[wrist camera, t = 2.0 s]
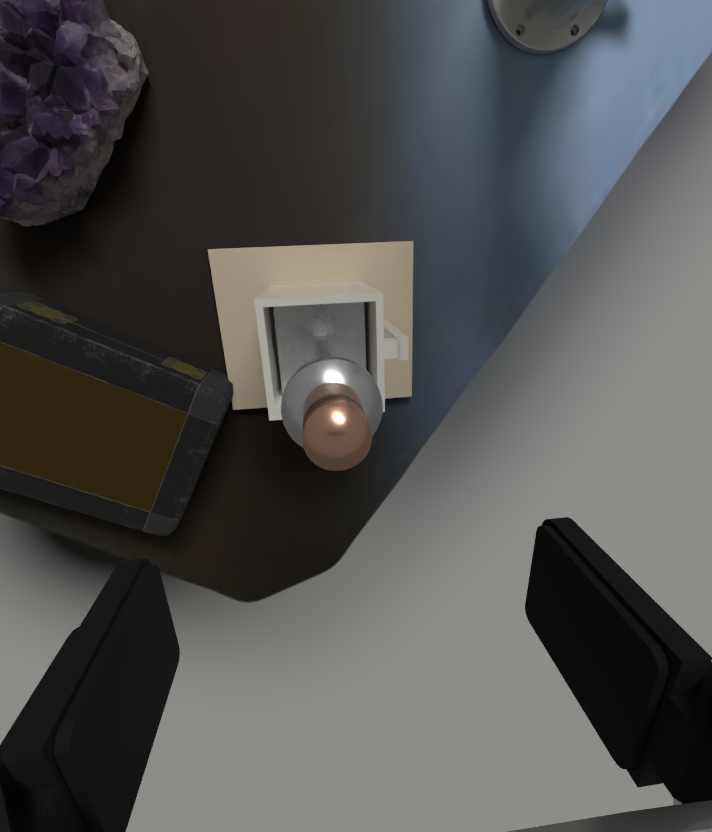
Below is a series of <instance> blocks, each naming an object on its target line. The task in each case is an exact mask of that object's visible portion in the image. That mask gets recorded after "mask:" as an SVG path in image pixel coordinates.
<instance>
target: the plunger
mask: <svg viewBox="0 0 712 832" xmlns="http://www.w3.org/2000/svg"><path fill="white" fill-rule="evenodd" d="M273 312H274V321H275V330H276V339H277V348H278V358H279V367H280V376H281V385H282V394H283V396H282V402H281V416H282V421H283V424H284V426H285V428H286V430H287V432H288V434H289V435H290V437H291V438H292V439H293V440H294V441H295V442H296V443H297V444H298V445H300V446H301V447H303V448H304V450H305V453H306V455H307V456H308V458H309V459H310V460H311V461H312V462H313V463H314V464H316V465H317V466H319V467H321V468H323V469H326V470H331V471H341V470H346V469H349V468H352V467H354V466H356V465H357V464H358V463H360V462H361V461H362V460H363V459H364V458H365V457H366V455H367V454H368V452H369V450H370V447H371V443H372V436H373V435H374V433H375V432H376V430H377V428H378V426H379V424H380V421H381V417H382V411H383V403H382V397H381V393H380V390H379V388H378V386H377V384H376V382H375V381H374V379H373V377H372V376H371V375H370V373H369V372H368V371H367V370H366V342H365V310H364V302H352V303H333V304H314V305H295V306H276V307H273Z"/></svg>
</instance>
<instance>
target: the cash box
mask: <svg viewBox="0 0 712 832" xmlns="http://www.w3.org/2000/svg"><path fill="white" fill-rule="evenodd" d="M232 397H233V384H232V383H231V382H230V381H229V380H228V375H226V374H224V373H222V372H219V371H217V370H214V369H212V368H210V367H207V366H205V365H203V364H200V363H198V362H195V361H193V360H190V359H188V358H186V357H183V356H181V355H178V354H176V353H174V352H171V351H169V350H166V349H164V348H162V347H159V346H157V345H154V344H152V343H149V342H147V341H145V340H142V339H140V338H137V337H135V336H133V335H130V334H128V333H125V332H123V331H121V330H118V329H116V328H113V327H111V326H108V325H106V324H104V323H101V322H99V321H96V320H94V319H92V318H89V317H87V316H84V315H82V314H80V313H77V312H75V311H72V310H70V309H67V308H65V307H63V306H60V305H58V304H55V303H53V302H51V301H48V300H46V299H43V298H41V297H38V296H36V295H34V294H31V293H29V292H18V291H12V292H4V293H0V489H2V490H5V491H9V492H12V493H15V494H19V495H22V496H25V497H29V498H32V499H35V500H39V501H42V502H45V503H49V504H52V505H55V506H59V507H62V508H65V509H69V510H72V511H75V512H79V513H82V514H85V515H89V516H92V517H95V518H99V519H102V520H105V521H109V522H112V523H116V524H119V525H122V526H126V527H129V528H132V529H136V530H139V531H142V532H146V533H149V534H152V535H156V536H168V535H170V534H171V533H172V532H173V531H174V530H175V529H176V528H177V527H178V525H179V522H180V520H181V518H182V516H183V514H184V512H185V510H186V508H187V506H188V504H189V501H190V499H191V497H192V494H193V492H194V490H195V487H196V485H197V482H198V480H199V478H200V475H201V473H202V470H203V468H204V465H205V463H206V461H207V458H208V456H209V453H210V451H211V448H212V446H213V444H214V441H215V439H216V436H217V434H218V431H219V429H220V427H221V424H222V422H223V419H224V417H225V414H226V412H227V410H228V407H229V405H230V402H231V399H232Z"/></svg>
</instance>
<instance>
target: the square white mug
mask: <svg viewBox="0 0 712 832" xmlns="http://www.w3.org/2000/svg"><path fill="white" fill-rule="evenodd" d="M208 255H209V261H210V267H211V274H212V280H213V286H214V293H215V299H216V305H217V311H218V318H219V324H220V330H221V337H222V343H223V349H224V356H225V362H226V368H227V374H228V380H229V381H230V382H231V383H232V384H233V397H232V399H231V400H232V406H233V410H239V409H253V408H266V407H268V414H269V421H272V420H282V416H281V402H282V396H283V394H282V385H281V376H280V367H279V358H278V348H277V339H276V330H275V321H274V312H273V307H276V306H295V305H314V304H333V303H352V302H364V310H365V342H366V370H367V371H368V372H369V373H370V375H371V376H372V377H373V379H374V381H375V382H376V384H377V386H378V388H379V390H380V393H381V397H382V403H383V411H382V412H385V399H387V398H400V397H412V327H413V241H403V242H379V243H354V244H329V245H304V246H279V247H255V248H230V249H208Z"/></svg>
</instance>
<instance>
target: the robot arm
mask: <svg viewBox="0 0 712 832" xmlns="http://www.w3.org/2000/svg"><path fill="white" fill-rule="evenodd" d="M607 1H608V0H487V2H488V6H489V9H490V12H491V15H492V17H493V20H494V22H495V23H496V25H497V27H498V29H499V30H500V32H501V33H502V34H503V35H504V37H505V38H506V39H507V40H508V41H509V42H510V43H512V44H513V45H514V46H516V47H517V48H519V49H521V50H523V51H526V52H528V53H533V54H549V53H554V52H557V51H559V50H562V49H564V48H566V47H568V46H569V45H571V44H572V43H574V42H575V41H577V40H578V39H579V38H580V37H581V36H583V35H584V34H585V33H586V32H587V31H588V30H589V29H590V28H591V26H592V25H593V24H594V23H595V22H596V20H597V19H598V17H599V16H600V14H601V13H602V11H603V10H604V8H605V5H606V3H607ZM516 32H517V33H518V35H517V33H516ZM525 610H526V615H527V618H528V620H529V622H530V624H531V626H532V627H533V629H534V630H535V632H536V634H537V635H538V637H539V638H540V640H541V642H542V643H543V645H544V647H545V648H546V650H547V652H548V653H549V655H550V657H551V658H552V660H553V661H554V663H555V665H556V666H557V668H558V670H559V671H560V673H561V674H562V676H563V678H564V679H565V681H566V683H567V684H568V686H569V688H570V689H571V691H572V693H573V694H574V696H575V697H576V699H577V701H578V702H579V704H580V706H581V707H582V709H583V711H584V712H585V714H586V715H587V717H588V719H589V720H590V722H591V723H592V725H593V727H594V729H595V730H596V732H597V733H598V735H599V737H600V738H601V740H602V742H603V743H604V745H605V746H606V748H607V750H608V751H609V753H610V755H611V756H612V758H613V759H614V761H615V762H616V764H617V765H619V767H620V768H622V769H627V771H628V772H629V774H630V776H631V777H632V779H633V781H634V782H635V784H636V785H637V787H643V786H648V785H654V784H661V783H664V785H665V786H666V788H667V789H668V790H669V792H670V793H671V795H672V796H673V798H674V805H673V806H666V807H659V808H652V809H645V810H638V811H631V812H624V813H618V814H612V815H606V816H601V817H594V818H588V819H582V820H576V821H570V822H564V823H558V824H552V825H546V826H540V827H534V828H528V829H521V830H515V831H510V832H712V662H711V660H712V657H711V656H710V655H709V654H708V653H707V652H706V651H705V650H704V649H703V648H702V647H701V646H700V645H699V644H698V643H697V642H696V641H695V640H694V639H693V638H692V637H691V636H690V635H689V634H687V632H685V631H684V630H683V629H682V628H681V627H680V626H679V625H678V624H677V623H676V622H675V621H674V620H673V619H672V618H671V617H670V616H669V615H668V614H667V613H666V612H665V611H664V610H663V609H662V608H661V607H660V606H659V605H658V604H657V603H656V602H655V601H654V600H653V599H652V598H651V597H650V596H649V595H648V594H647V593H646V592H645V591H644V590H643V589H642V588H641V587H640V586H639V585H638V584H637V583H636V582H635V581H634V580H633V579H632V578H631V577H630V576H629V575H628V574H627V573H626V572H625V571H624V570H623V569H622V568H621V567H620V566H619V565H618V564H617V563H616V562H615V561H614V560H613V559H612V558H611V557H610V556H609V555H608V554H607V553H605V552H604V551H603V550H602V549H601V548H600V547H599V546H598V545H597V544H596V543H595V542H594V541H593V540H592V539H591V538H590V537H589V536H588V535H587V534H586V533H585V532H584V531H583V530H582V529H581V528H580V527H579V526H578V525H577V524H576V523H575V522H574V521H573V520H572V519H570V518H567V517H566V518H557V519H547V520H545V521H544V522H543V524H542V526H539V527H538V528H537V532H536V539H535V544H534V551H533V558H532V564H531V571H530V577H529V584H528V590H527V597H526V603H525ZM179 653H180V652H179V644H178V640H177V637H176V633H175V629H174V625H173V621H172V618H171V613H170V610H169V606H168V602H167V598H166V594H165V590H164V586H163V583H162V578H161V574H160V571H159V568H158V566H157V565H155V564H154V565H151V563H150V561H149V560H148V559H140V560H130V561H122V562H120V563H119V564H118V565H117V566H116V568H115V569H114V571H113V573H112V574H111V576H110V578H109V579H108V581H107V583H106V584H105V586H104V588H103V589H102V591H101V593H100V594H99V596H98V597H97V599H96V601H95V602H94V604H93V605H92V607H91V609H90V610H89V612H88V614H87V615H86V617H85V618H84V620H83V622H82V624H81V625H80V627H78V628H76V629H75V630H73V631H72V633H71V634H70V635H69V636H68V638H67V639H66V641H65V643H64V644H63V646H62V647H61V649H60V651H59V652H58V654H57V655H56V657H55V659H54V660H53V662H52V663H51V665H50V666H49V668H48V670H47V671H46V673H45V675H44V676H43V678H42V679H41V681H40V682H39V684H38V686H37V687H36V689H35V690H34V692H33V694H32V695H31V697H30V698H29V700H28V702H27V703H26V705H25V707H24V708H23V710H22V711H21V713H20V714H19V716H18V718H17V719H16V721H15V722H14V724H13V725H12V727H11V729H10V730H9V732H8V733H7V735H6V737H5V738H4V740H3V741H2V743H1V745H0V832H125V831H126V828H127V825H128V822H129V819H130V816H131V812H132V809H133V806H134V803H135V800H136V796H137V793H138V790H139V787H140V784H141V781H142V777H143V774H144V771H145V768H146V765H147V761H148V758H149V755H150V752H151V749H152V746H153V742H154V739H155V736H156V733H157V730H158V726H159V723H160V720H161V717H162V714H163V710H164V707H165V704H166V701H167V698H168V695H169V691H170V688H171V685H172V682H173V679H174V675H175V672H176V669H177V666H178V662H179Z"/></svg>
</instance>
